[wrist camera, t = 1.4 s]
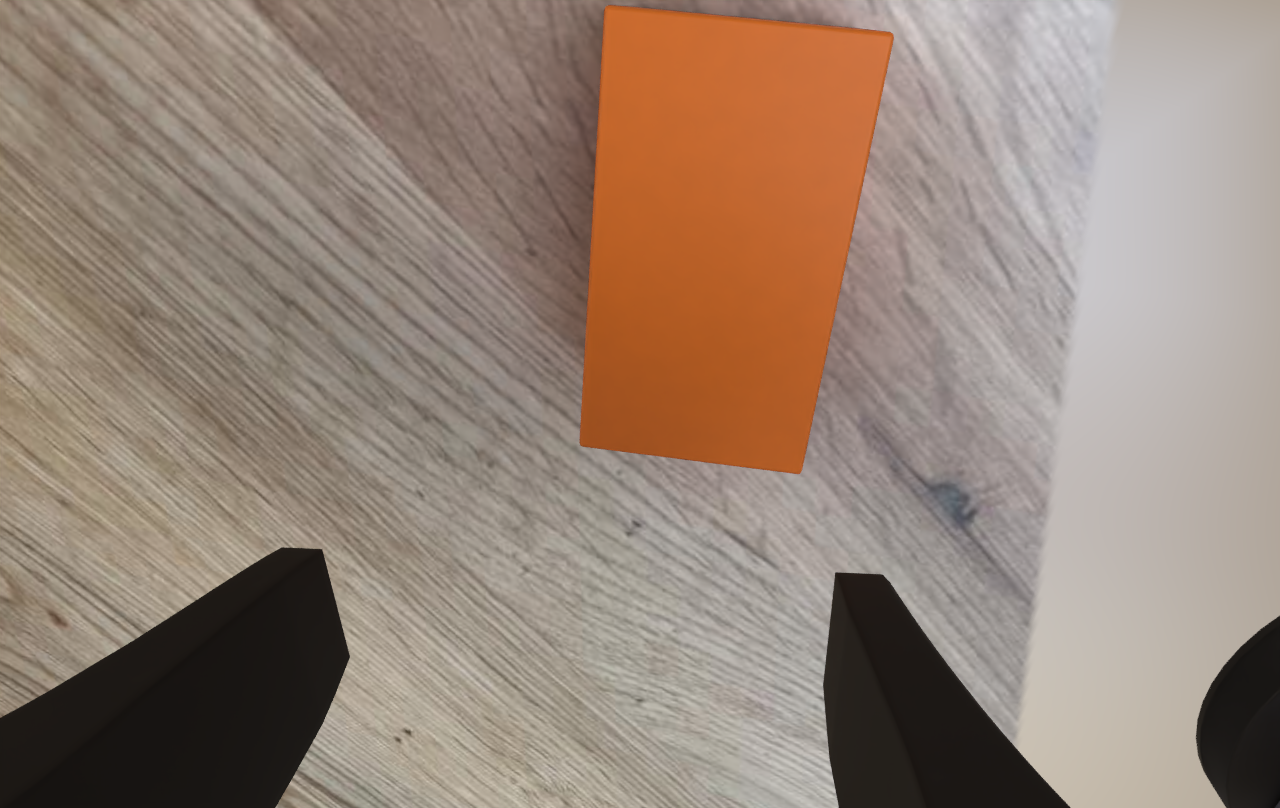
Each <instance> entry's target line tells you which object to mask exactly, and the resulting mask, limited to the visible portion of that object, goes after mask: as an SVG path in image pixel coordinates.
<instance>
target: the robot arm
mask: <svg viewBox="0 0 1280 808" xmlns="http://www.w3.org/2000/svg"><path fill="white" fill-rule="evenodd" d="M349 658H350V655H349V651H348V648H347V644H346V640H345V636H344V632H343V628H342V624H341V620H340V617H339V613H338V609H337V605H336V601H335V597H334V593H333V589H332V586H331V582H330V578H329V574H328V570H327V566H326V562H325V558H324V555H323V551H322V549H305V548H283V547H282V548H280V549H278V550H277V551H275V552H273V553H271V554H269V555H268V556H266V557H264V558H263V559H261V560H259V561H258V562H256V563H254V564H253V565H251V566H249V567H248V568H246V569H245V570H243V571H241V572H240V573H238V574H237V575H235V576H233V577H232V578H230V579H229V580H227V581H226V582H224V583H223V584H221V585H219V586H218V587H216V588H215V589H213V590H212V591H210V592H209V593H207V594H206V595H204V596H202V597H201V598H199V599H198V600H196V601H195V602H193V603H192V604H190V605H188V606H187V607H185V608H184V609H182V610H181V611H179V612H177V613H176V614H174V615H173V616H171V617H170V618H168V619H167V620H165V621H163V622H162V623H160V624H159V625H157V626H156V627H154V628H152V629H151V630H149V631H148V632H146V633H145V634H143V635H142V636H140V637H138V638H137V639H135V640H134V641H132V642H130V643H129V644H127V645H125V646H124V647H122V648H120V649H119V650H117V651H115V652H114V653H112V654H110V655H109V656H107V657H105V658H104V659H102V660H100V661H99V662H97V663H95V664H94V665H92V666H90V667H89V668H87V669H85V670H84V671H82V672H80V673H79V674H77V675H75V676H74V677H72V678H70V679H69V680H67V681H65V682H63V683H62V684H60V685H58V686H57V687H55V688H53V689H52V690H50V691H48V692H47V693H45V694H43V695H41V696H39V697H38V698H36V699H34V700H32V701H31V702H29V703H27V704H25V705H23V706H21V707H20V708H18V709H16V710H14V711H12V712H10V713H9V714H7V715H5V716H3V717H1V718H0V808H275V807H276V806H277V804H278V802H279V800H280V799H281V797H282V795H283V793H284V792H285V790H286V788H287V786H288V785H289V783H290V781H291V779H292V778H293V776H294V774H295V772H296V771H297V769H298V767H299V765H300V764H301V762H302V760H303V758H304V756H305V755H306V753H307V751H308V749H309V748H310V746H311V744H312V742H313V740H314V739H315V737H316V735H317V733H318V731H319V729H320V728H321V726H322V724H323V722H324V719H325V717H326V715H327V712H328V710H329V708H330V705H331V703H332V701H333V698H334V696H335V694H336V691H337V689H338V686H339V684H340V681H341V678H342V676H343V673H344V671H345V668H346V666H347V663H348V660H349ZM823 688H824V700H825V713H826V725H827V736H828V746H829V757H830V763H831V769H832V774H833V779H834V784H835V789H836V794H837V800H838V805H839V808H1070V807H1069V806H1068V805H1067V804H1066V802H1065V801H1064V800H1063V799H1062V798H1061V797H1060V796H1059V795H1058V794H1057V793H1056V792H1055V791H1054V790H1053V789H1052V788H1051V787H1050V786H1049V784H1048V783H1047V782H1046V781H1045V780H1044V779H1043V778H1042V777H1041V776H1040V775H1039V774H1038V773H1037V771H1036V770H1035V769H1034V768H1033V767H1032V766H1031V765H1030V764H1029V763H1028V761H1027V760H1026V759H1025V758H1024V757H1023V756H1022V755H1021V753H1020V752H1019V751H1018V750H1017V749H1016V748H1015V747H1014V745H1013V744H1012V743H1011V742H1010V741H1009V740H1008V739H1007V737H1006V736H1005V735H1004V734H1003V733H1002V732H1001V730H1000V729H999V728H998V727H997V726H996V724H995V723H994V722H993V721H992V720H991V718H990V717H989V716H988V715H987V714H986V712H985V711H984V710H983V709H982V708H981V706H980V705H979V704H978V703H977V701H976V700H975V699H974V698H973V696H972V695H971V694H970V692H969V691H968V690H967V689H966V687H965V686H964V685H963V684H962V682H961V681H960V680H959V679H958V677H957V676H956V675H955V673H954V672H953V671H952V670H951V668H950V667H949V666H948V664H947V663H946V662H945V660H944V659H943V658H942V656H941V655H940V654H939V652H938V651H937V650H936V648H935V647H934V646H933V644H932V643H931V641H930V640H929V639H928V637H927V636H926V634H925V633H924V632H923V630H922V629H921V627H920V626H919V625H918V623H917V622H916V620H915V619H914V617H913V616H912V615H911V613H910V612H909V610H908V609H907V607H906V606H905V604H904V603H903V601H902V600H901V598H900V597H899V595H898V594H897V592H896V591H895V589H894V588H893V586H892V585H891V583H890V582H889V581H888V580H887V579H886V578H885V577H884V576H883V575H881V574H859V573H837V572H836V573H835V582H834V591H833V600H832V609H831V619H830V628H829V637H828V646H827V655H826V665H825V674H824V683H823ZM1275 808H1280V801H1279V802H1278V804H1277V805H1276V807H1275Z"/></svg>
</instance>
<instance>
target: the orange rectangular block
mask: <svg viewBox="0 0 1280 808" xmlns="http://www.w3.org/2000/svg"><path fill="white" fill-rule="evenodd" d="M893 40H894V36H893V34H892V33H891V32H886V31H877V30H868V29H859V28H848V27H838V26H827V25H817V24H807V23H796V22H786V21H775V20H765V19H755V18H744V17H734V16H723V15H713V14H702V13H692V12H682V11H671V10H661V9H650V8H640V7H629V6H616V5H608V6H606V7H605V10H604V23H603V41H602V58H601V76H600V93H599V111H598V128H597V146H596V163H595V181H594V198H593V215H592V233H591V250H590V268H589V285H588V303H587V320H586V338H585V355H584V373H583V390H582V407H581V425H580V445H581V446H583V447H590V448H598V449H606V450H614V451H622V452H630V453H637V454H645V455H653V456H661V457H669V458H677V459H684V460H692V461H700V462H708V463H716V464H724V465H731V466H739V467H747V468H755V469H763V470H771V471H778V472H786V473H794V474H800V473H801V471H802V468H803V463H804V458H805V454H806V449H807V444H808V439H809V435H810V430H811V425H812V421H813V416H814V411H815V406H816V402H817V397H818V392H819V388H820V383H821V378H822V374H823V369H824V364H825V359H826V355H827V350H828V345H829V341H830V336H831V331H832V327H833V322H834V317H835V312H836V308H837V303H838V298H839V294H840V289H841V284H842V280H843V275H844V270H845V265H846V261H847V256H848V251H849V247H850V242H851V237H852V233H853V228H854V223H855V218H856V214H857V209H858V204H859V200H860V195H861V190H862V186H863V181H864V176H865V171H866V167H867V162H868V157H869V153H870V148H871V143H872V139H873V134H874V129H875V124H876V120H877V115H878V110H879V106H880V101H881V96H882V92H883V87H884V82H885V77H886V73H887V68H888V63H889V59H890V54H891V49H892V45H893Z"/></svg>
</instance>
